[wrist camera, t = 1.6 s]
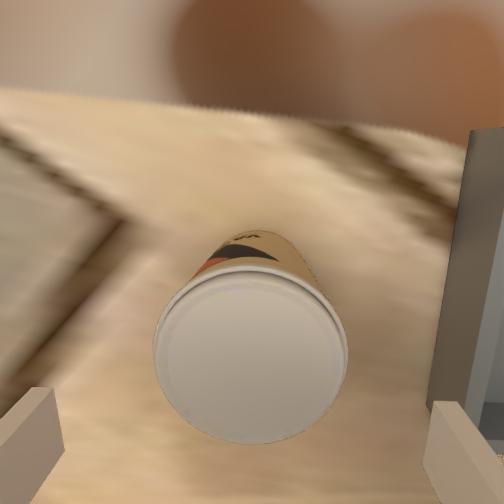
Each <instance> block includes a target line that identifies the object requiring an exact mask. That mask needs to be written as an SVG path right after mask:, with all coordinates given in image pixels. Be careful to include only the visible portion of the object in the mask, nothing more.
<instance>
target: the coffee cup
mask: <svg viewBox="0 0 504 504" xmlns="http://www.w3.org/2000/svg"><path fill="white" fill-rule="evenodd" d="M153 357H154V364H155V369H156V373H157V378H158V380H159V383H160V386H161V388H162V391H163V393H164V395H165V396H166V398H167V400H168V401H169V403H170V404H171V405H172V407H173V408H174V409H175V410H176V411H177V412H178V414H179V415H180V416H181V417H182V418H184V419H185V420H186V421H187V422H188V423H190V424H191V425H192V426H194V427H195V428H197V429H198V430H200V431H202V432H204V433H206V434H208V435H210V436H212V437H215V438H218V439H221V440H225V441H228V442H232V443H239V444H249V445H250V444H268V443H273V442H277V441H281V440H285V439H288V438H290V437H292V436H295V435H297V434H299V433H301V432H303V431H305V430H306V429H308V428H309V427H311V426H312V425H313V424H315V423H316V422H317V421H318V420H319V419H320V418H321V417H322V416H323V415H324V414H325V413H326V412H327V411H328V410H329V408H330V407H331V405H332V404H333V402H334V401H335V399H336V397H337V395H338V393H339V391H340V389H341V386H342V384H343V382H344V379H345V376H346V371H347V366H348V345H347V339H346V334H345V331H344V327H343V325H342V323H341V320H340V318H339V316H338V314H337V313H336V311H335V309H334V308H333V306H332V305H331V304H330V302H329V301H328V300H327V298H326V297H325V296H324V294H323V292H322V290H321V289H320V287H319V285H318V283H317V282H316V280H315V278H314V277H313V275H312V273H311V271H310V270H309V268H308V266H307V265H306V263H305V261H304V260H303V258H302V256H301V255H300V254H299V252H298V251H297V250H296V249H295V247H294V246H293V245H292V244H291V243H289V242H288V241H287V240H285V239H284V238H282V237H280V236H278V235H276V234H272V233H269V232H263V231H251V232H245V233H241V234H239V235H236V236H234V237H232V238H231V239H229V240H228V241H226V242H225V243H224V244H223V245H222V246H221V247H219V248H218V249H217V250H216V252H215V253H214V254H213V255H212V256H211V257H210V258H209V259H208V261H207V262H206V263H205V264H204V265H203V266H202V267H201V268H200V270H199V271H198V272H197V273H196V274H195V275H194V277H193V278H192V279H191V280H190V281H189V283H187V284H186V285H185V286H184V287H183V288H181V289H180V290H179V291H178V292H177V294H176V295H175V296H174V297H173V298H172V299H171V300H170V302H169V303H168V304H167V306H166V307H165V309H164V311H163V313H162V314H161V317H160V319H159V322H158V324H157V328H156V331H155V336H154V342H153Z"/></svg>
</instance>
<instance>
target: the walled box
mask: <svg viewBox="0 0 504 504" xmlns="http://www.w3.org/2000/svg"><path fill="white" fill-rule="evenodd" d="M434 401H456V402H458V403H459V405H460V406H461V408H462V409H463V410H464V412H465V413H466V414H467V416H468V417H469V418H470V420H471V421H472V422H473V424H474V425H475V426H476V428H477V429H478V430H479V432H480V433H481V435H482V436H483V437H484V439H485V440H486V441H487V443H488V444H489V445H490V447H491V448H492V449H493V451H494V452H495V453H496V454H504V127H501V128H491V129H482V130H473V131H470V137H469V143H468V149H467V155H466V161H465V167H464V173H463V179H462V186H461V192H460V198H459V204H458V210H457V216H456V222H455V229H454V235H453V241H452V247H451V253H450V259H449V266H448V272H447V278H446V284H445V290H444V296H443V302H442V309H441V315H440V321H439V327H438V333H437V339H436V345H435V352H434V358H433V364H432V370H431V376H430V382H429V388H428V395H427V401H426V405H427V407H428V409H429V410H430V412H431V414H432V408H433V402H434Z"/></svg>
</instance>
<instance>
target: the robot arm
mask: <svg viewBox="0 0 504 504" xmlns="http://www.w3.org/2000/svg"><path fill="white" fill-rule="evenodd" d="M64 451H65V449H64V444H63V438H62V433H61V427H60V421H59V416H58V410H57V405H56V399H55V394H54V388H42V387H32V388H31V389H30V390H29V391H28V392H27V393H26V394H25V395H24V396H23V397H22V398H21V399H20V400H19V401H18V402H17V403H16V404H15V405H14V406H13V407H12V408H11V409H10V410H9V411H8V412H7V413H6V414H5V415H4V416H3V417H2V418H1V419H0V504H29V503H30V502H31V500H32V499H33V497H34V496H35V494H36V493H37V491H38V490H39V488H40V487H41V485H42V484H43V482H44V481H45V479H46V478H47V476H48V475H49V473H50V472H51V470H52V469H53V467H54V466H55V464H56V463H57V461H58V460H59V458H60V457H61V455H62V454H63V452H64ZM422 466H423V468H424V470H425V472H426V474H427V476H428V478H429V480H430V482H431V484H432V486H433V489H434V491H435V493H436V495H437V497H438V499H439V501H440V503H441V504H504V464H503V463H502V461H501V460H500V459H499V457H498V456H497V455H496V453H495V452H494V451H493V449H492V448H491V447H490V445H489V444H488V443H487V441H486V440H485V439H484V437H483V436H482V435H481V433H480V432H479V430H478V429H477V428H476V426H475V425H474V424H473V422H472V421H471V420H470V418H469V417H468V416H467V414H466V413H465V412H464V410H463V409H462V408H461V406H460V405H459V403H458V402H456V401H434V402H433V408H432V414H431V419H430V425H429V431H428V436H427V442H426V447H425V453H424V459H423V464H422Z"/></svg>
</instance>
